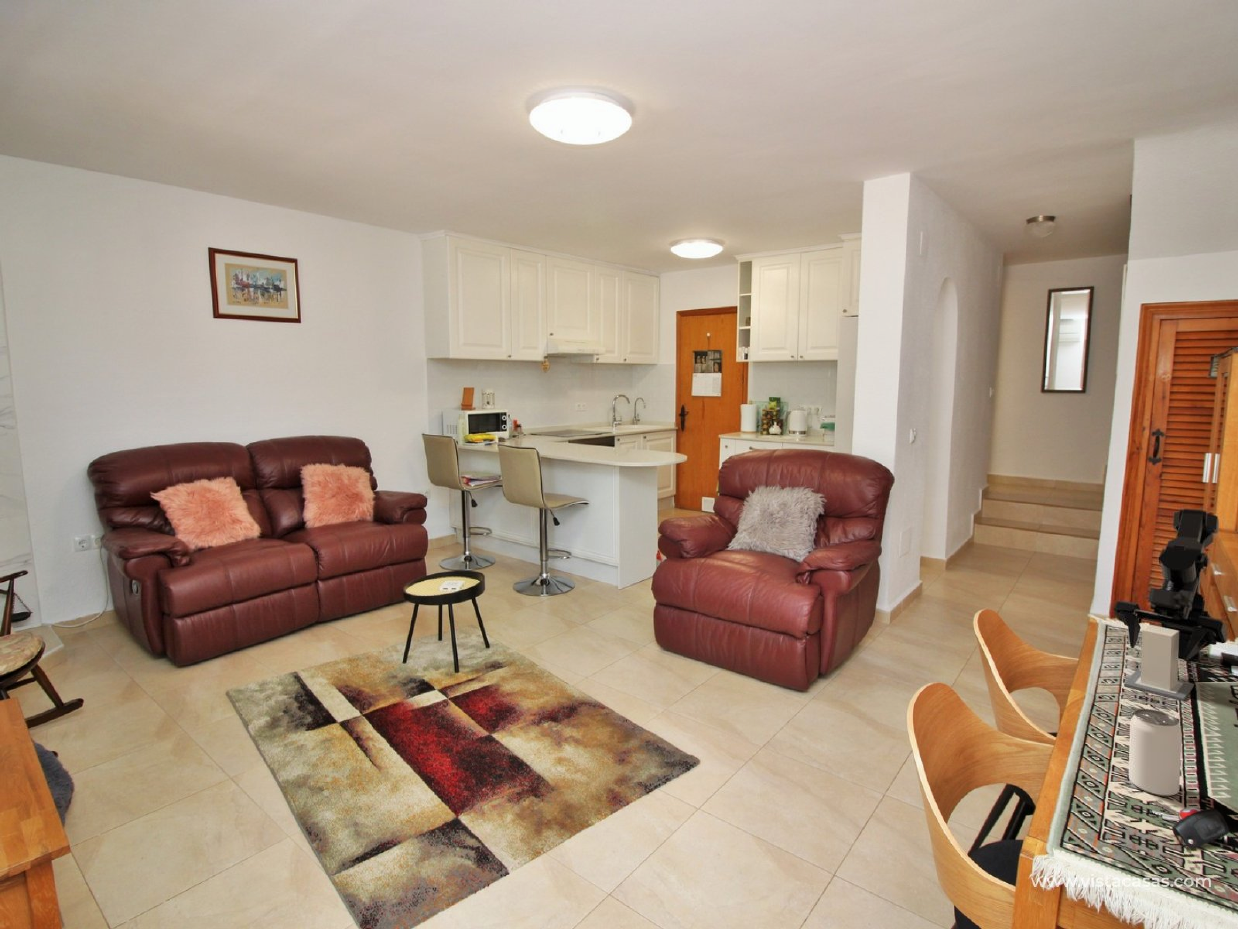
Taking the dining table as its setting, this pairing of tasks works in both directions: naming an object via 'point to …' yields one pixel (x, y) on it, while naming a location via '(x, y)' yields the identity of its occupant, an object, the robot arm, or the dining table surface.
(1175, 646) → the cream block
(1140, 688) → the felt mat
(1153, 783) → the can
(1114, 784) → the dining table surface
